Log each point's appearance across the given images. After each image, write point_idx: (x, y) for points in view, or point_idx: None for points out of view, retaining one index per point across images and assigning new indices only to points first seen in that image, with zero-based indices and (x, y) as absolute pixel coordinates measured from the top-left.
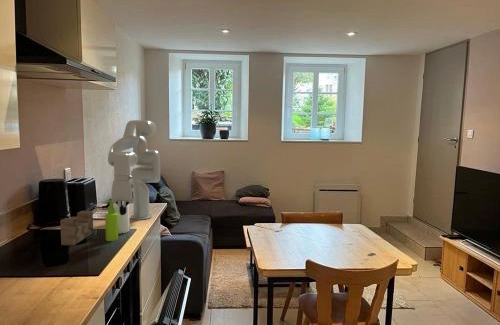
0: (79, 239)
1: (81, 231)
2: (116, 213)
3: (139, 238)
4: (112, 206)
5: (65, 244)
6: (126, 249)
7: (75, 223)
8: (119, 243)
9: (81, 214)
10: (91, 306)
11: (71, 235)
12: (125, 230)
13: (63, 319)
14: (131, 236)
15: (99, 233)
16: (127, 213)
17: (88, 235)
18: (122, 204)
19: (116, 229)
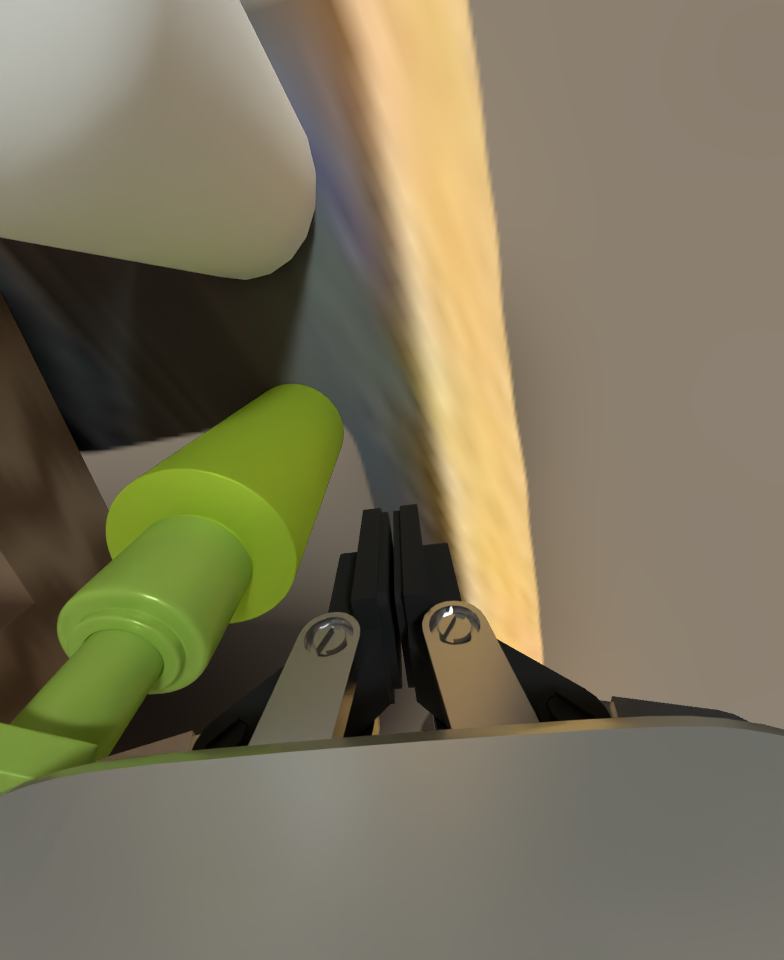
0: (101, 527)
1: (43, 527)
2: (270, 537)
3: (507, 366)
4: (160, 668)
5: None
6: (500, 589)
7: (4, 679)
8: (404, 504)
9: None
10: None
11: None
12: (303, 232)
13: None
14: (413, 322)
15: (63, 287)
16: (244, 94)
17: (44, 390)
18: (361, 658)
19: (330, 475)
